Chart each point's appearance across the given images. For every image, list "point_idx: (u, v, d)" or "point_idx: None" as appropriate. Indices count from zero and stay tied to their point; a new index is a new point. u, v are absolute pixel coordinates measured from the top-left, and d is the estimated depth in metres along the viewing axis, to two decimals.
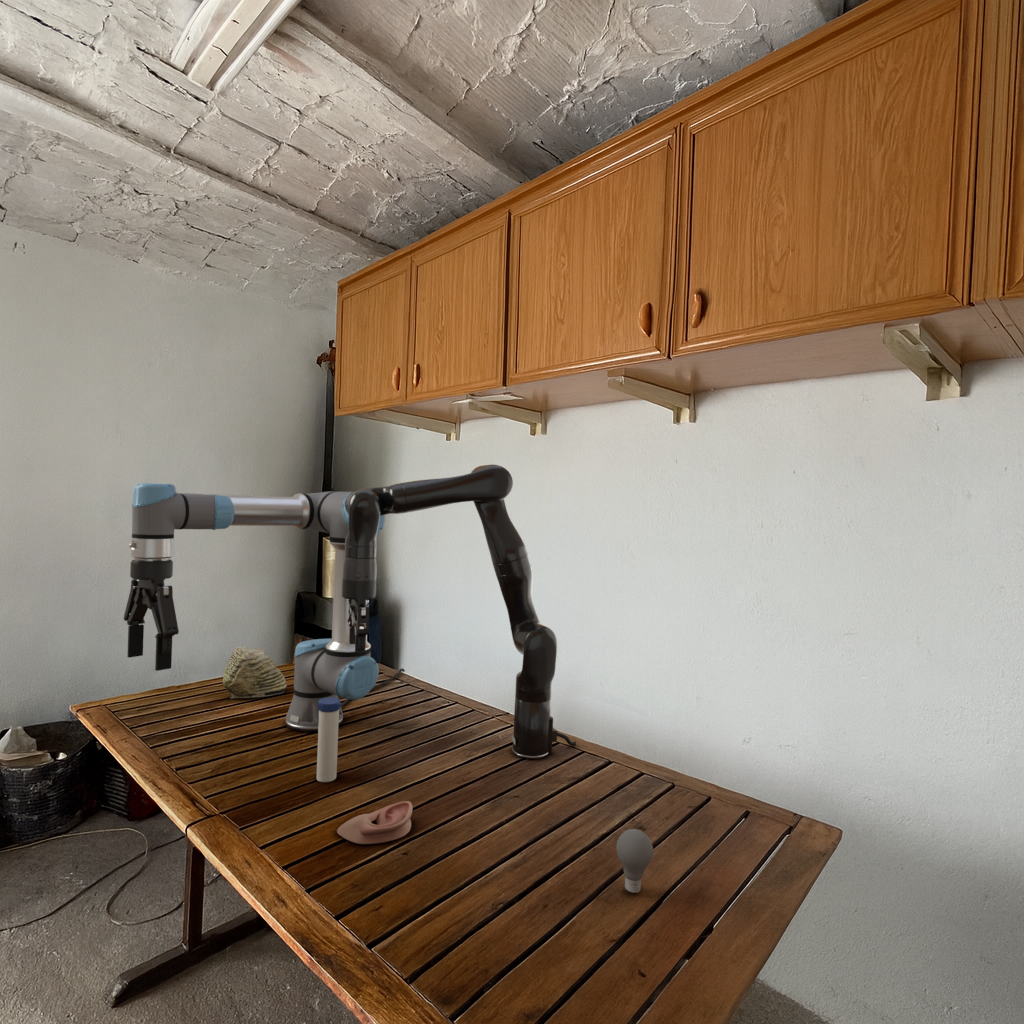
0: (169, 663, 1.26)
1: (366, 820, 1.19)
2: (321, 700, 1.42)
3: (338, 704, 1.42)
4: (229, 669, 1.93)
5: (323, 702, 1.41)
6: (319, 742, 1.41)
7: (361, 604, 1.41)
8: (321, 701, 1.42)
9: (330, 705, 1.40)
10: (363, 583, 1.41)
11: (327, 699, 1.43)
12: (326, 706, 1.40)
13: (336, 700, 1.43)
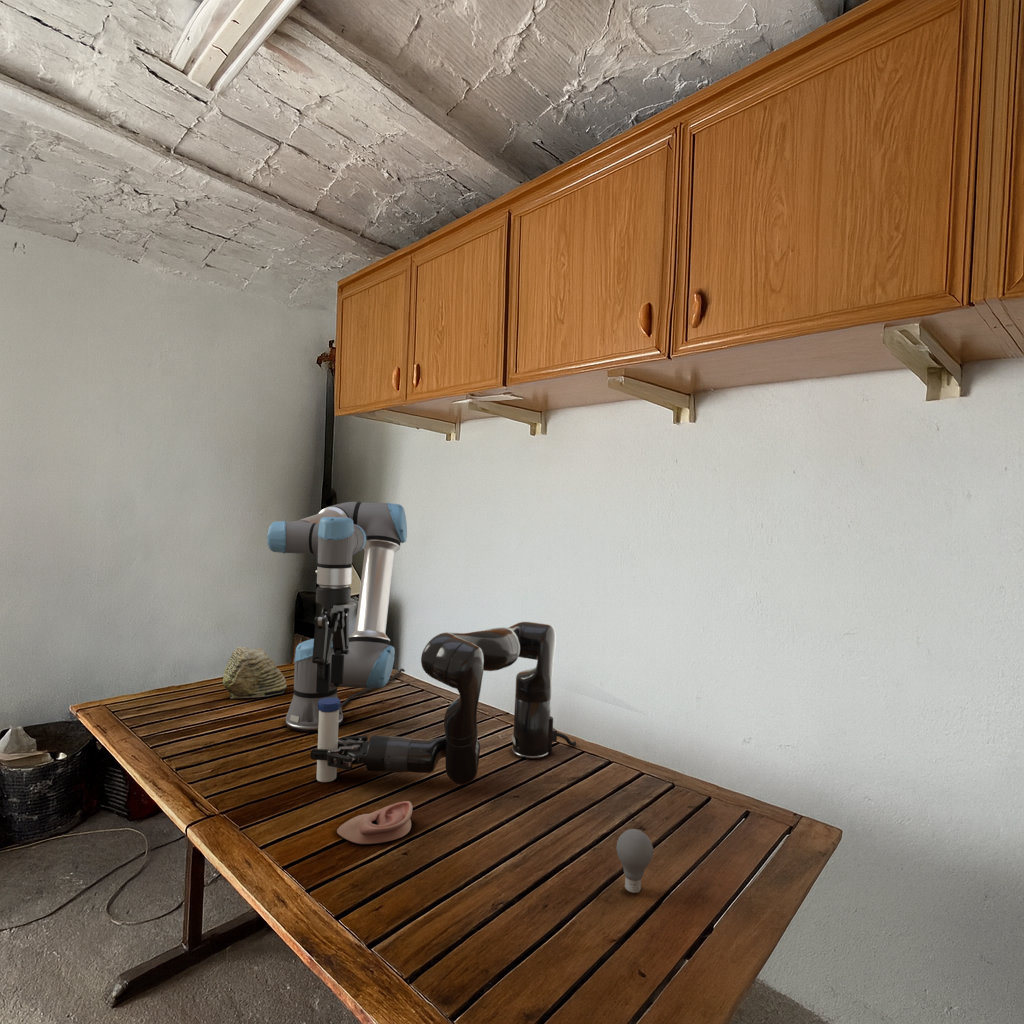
0: (326, 688, 1.38)
1: (366, 820, 1.19)
2: (321, 700, 1.42)
3: (338, 704, 1.42)
4: (229, 669, 1.93)
5: (323, 702, 1.41)
6: (319, 742, 1.41)
7: None
8: (321, 701, 1.42)
9: (330, 705, 1.40)
10: None
11: (327, 699, 1.43)
12: (326, 706, 1.40)
13: (336, 700, 1.43)
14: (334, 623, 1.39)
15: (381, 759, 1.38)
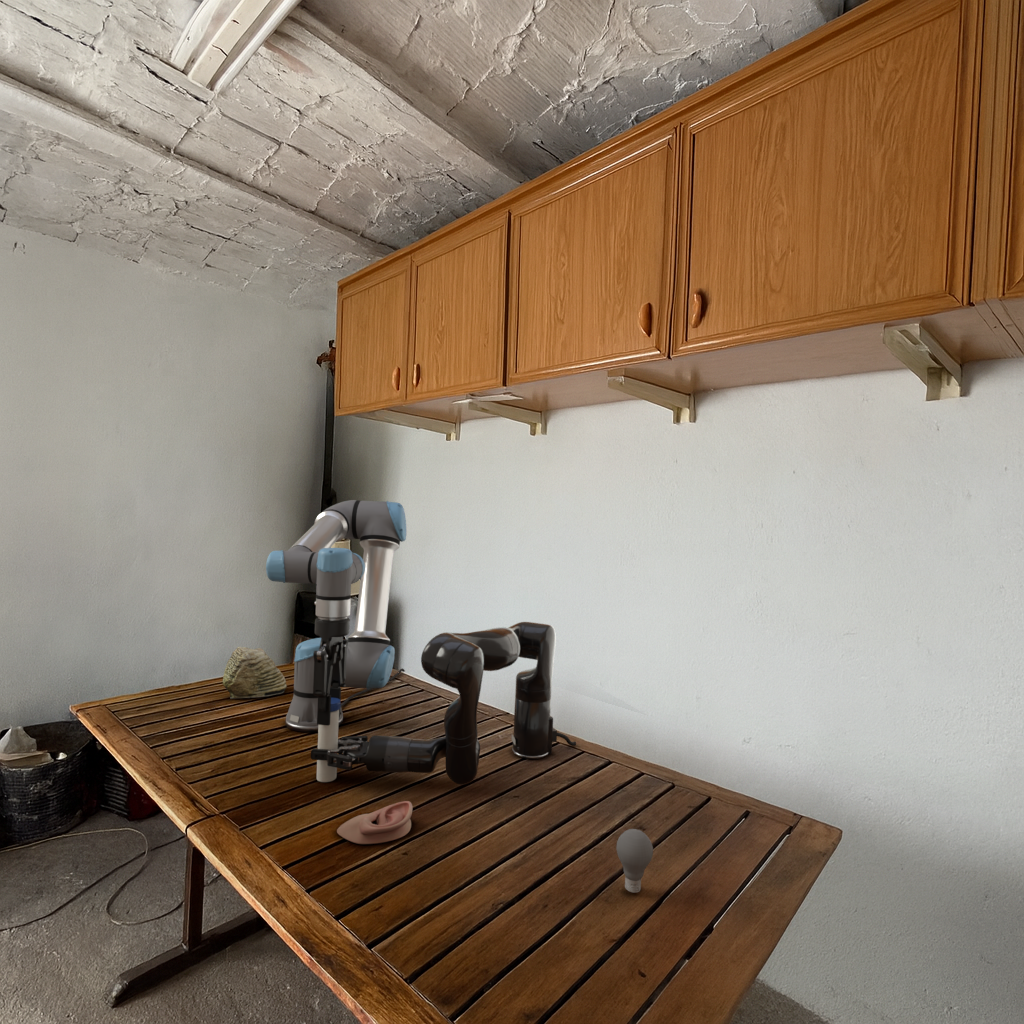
0: (327, 720, 1.39)
1: (366, 820, 1.19)
2: None
3: (338, 704, 1.42)
4: (229, 669, 1.93)
5: None
6: (319, 742, 1.41)
7: None
8: None
9: None
10: None
11: None
12: None
13: (336, 700, 1.43)
14: (333, 655, 1.40)
15: (381, 759, 1.38)
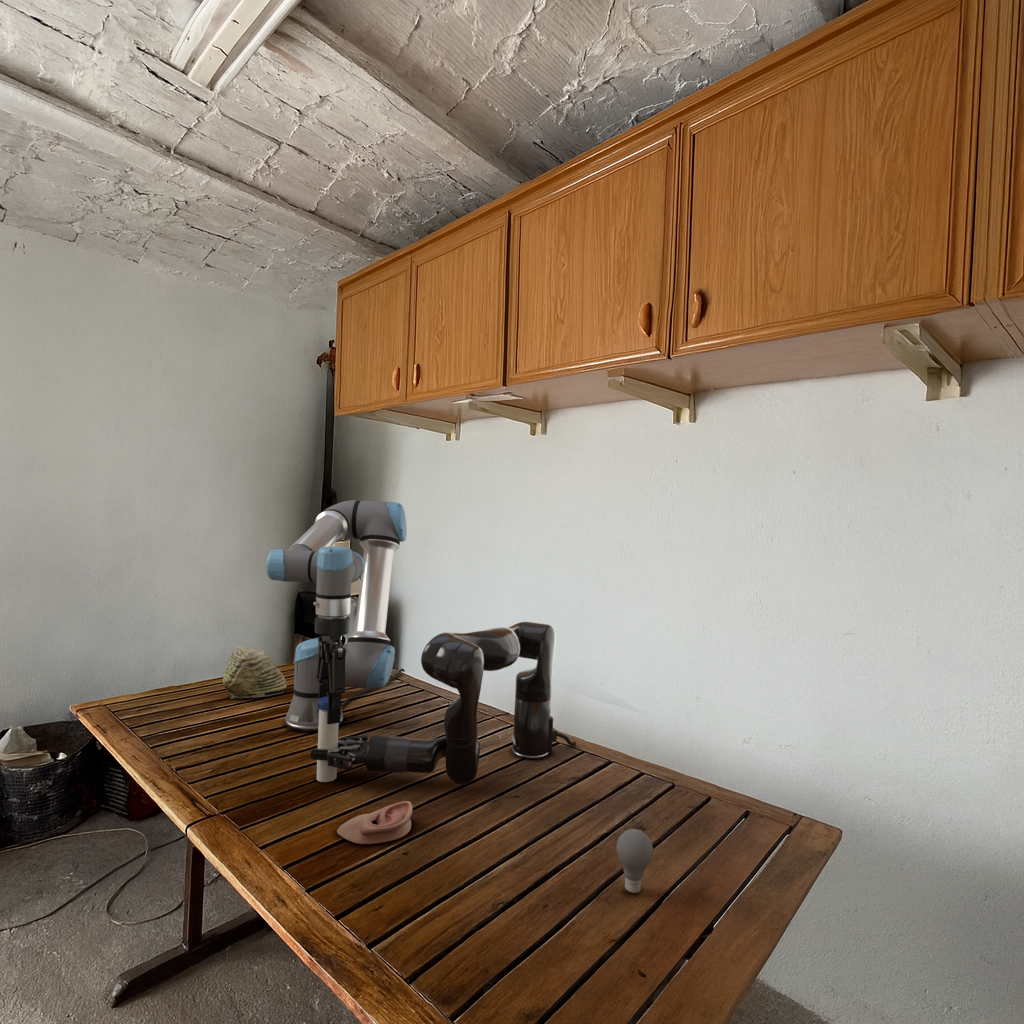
0: (338, 718, 1.39)
1: (366, 820, 1.19)
2: (327, 702, 1.41)
3: None
4: (229, 669, 1.93)
5: None
6: (319, 742, 1.41)
7: None
8: None
9: None
10: None
11: (324, 700, 1.42)
12: None
13: None
14: None
15: (381, 759, 1.38)
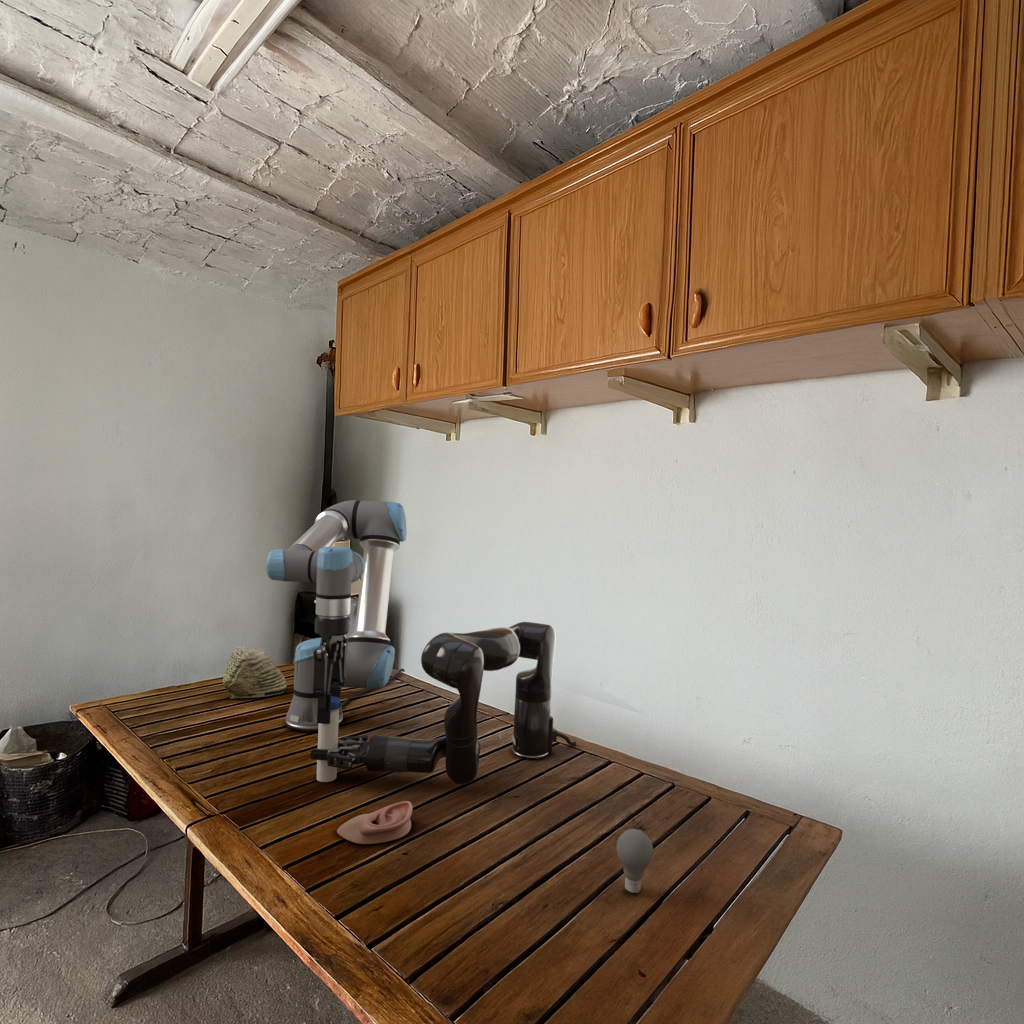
0: (327, 719, 1.39)
1: (366, 820, 1.19)
2: None
3: None
4: (229, 669, 1.93)
5: (333, 701, 1.41)
6: (319, 742, 1.41)
7: None
8: None
9: None
10: None
11: None
12: (340, 702, 1.42)
13: None
14: (333, 654, 1.40)
15: (381, 759, 1.38)
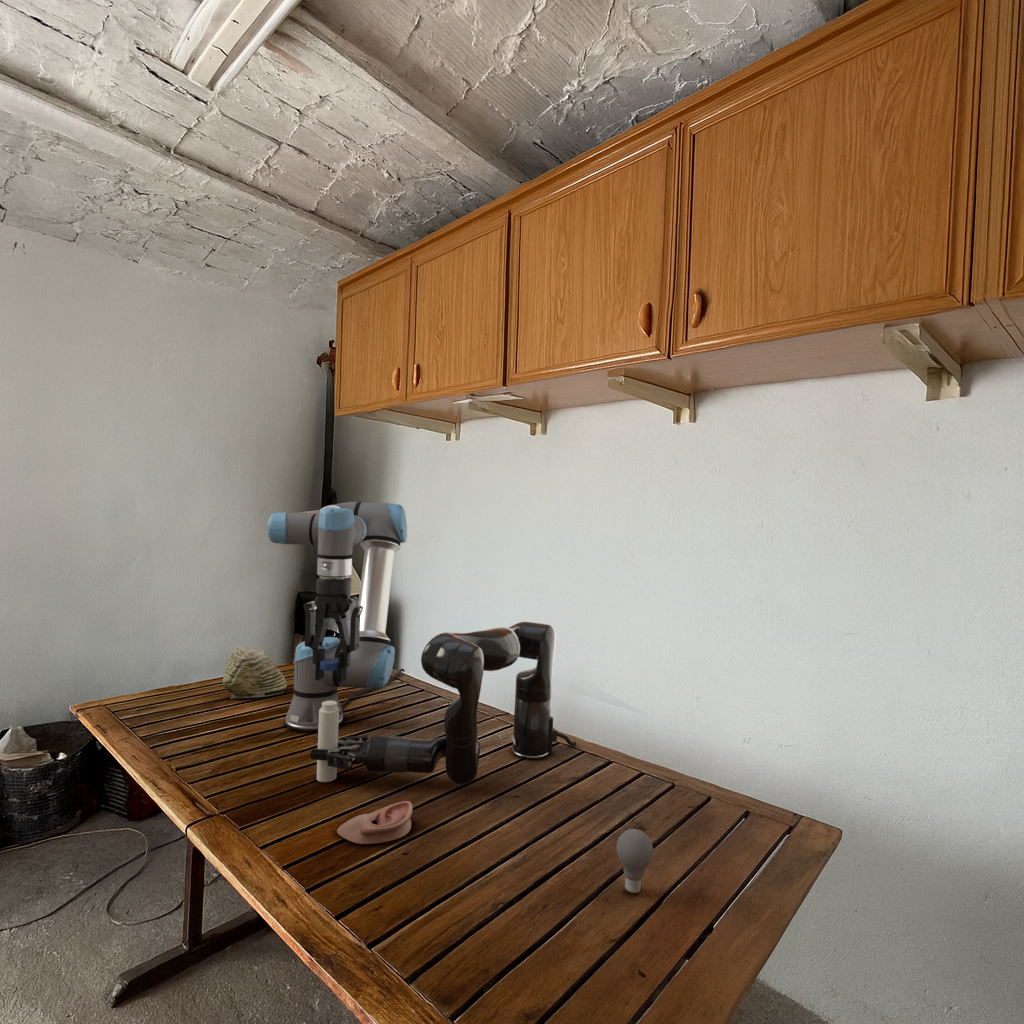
0: (345, 675, 1.43)
1: (366, 820, 1.19)
2: None
3: None
4: (229, 669, 1.93)
5: (337, 659, 1.44)
6: (319, 742, 1.41)
7: None
8: None
9: None
10: None
11: (332, 661, 1.42)
12: None
13: (324, 660, 1.42)
14: None
15: (381, 759, 1.38)
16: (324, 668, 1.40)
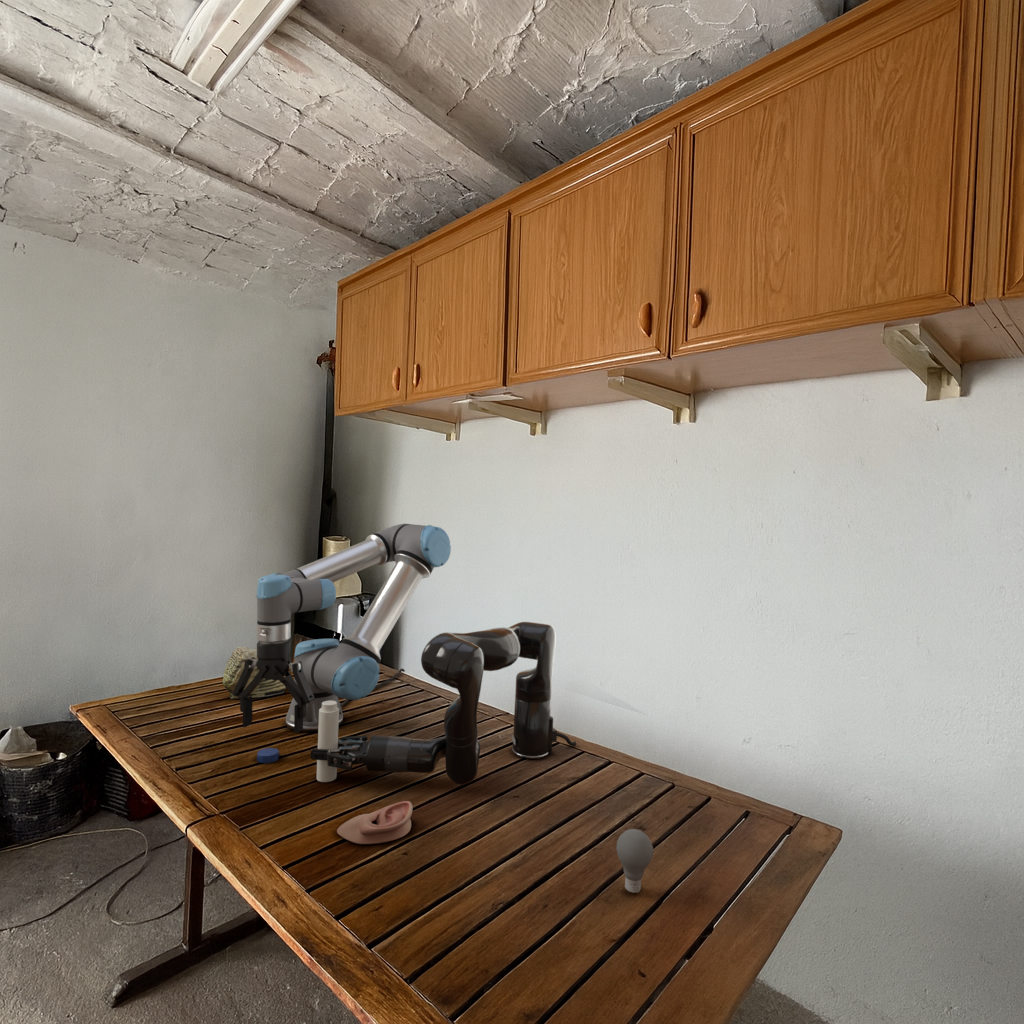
0: (302, 725, 1.52)
1: (366, 820, 1.19)
2: (275, 752, 1.51)
3: None
4: (229, 669, 1.93)
5: (274, 750, 1.53)
6: (319, 742, 1.41)
7: None
8: (275, 751, 1.52)
9: None
10: None
11: (269, 753, 1.50)
12: None
13: (261, 751, 1.51)
14: (287, 670, 1.52)
15: (381, 759, 1.38)
16: (260, 760, 1.49)
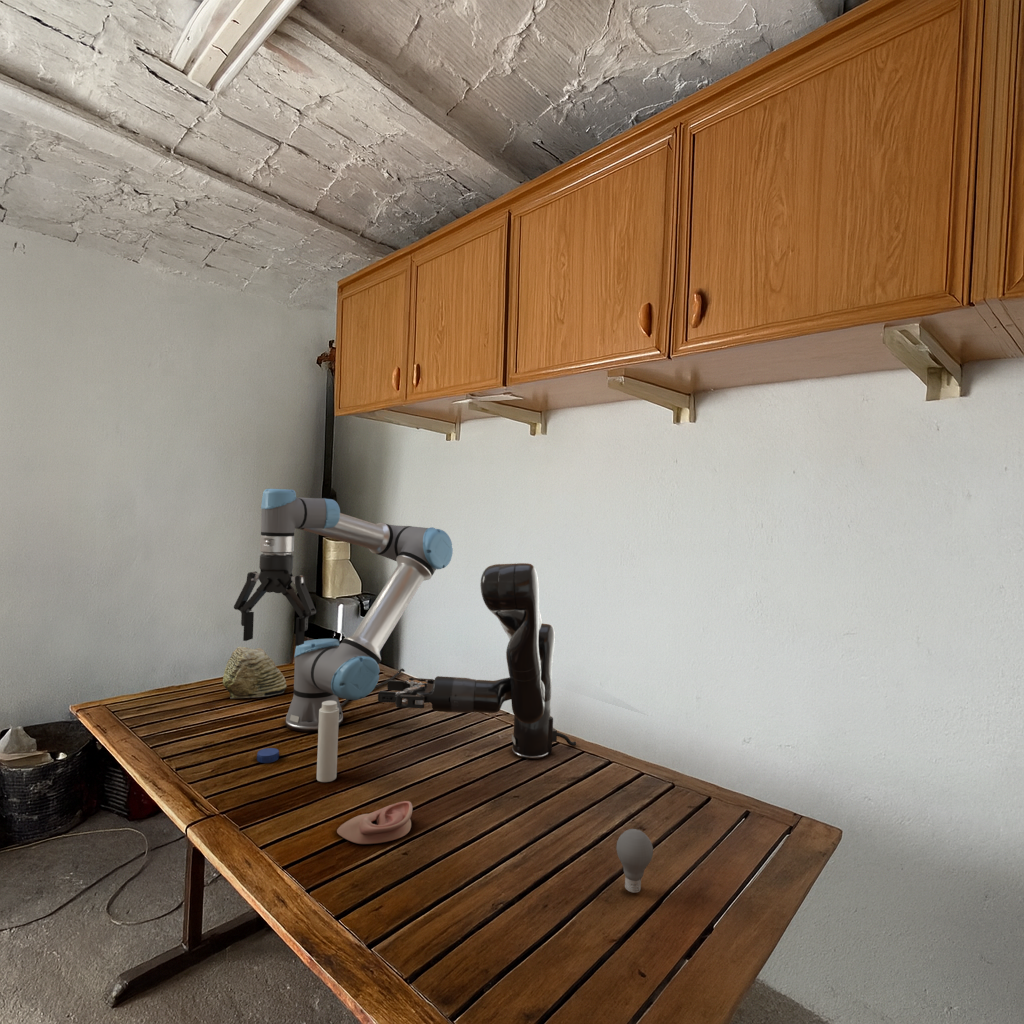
0: (303, 639, 1.51)
1: (366, 820, 1.19)
2: (275, 752, 1.51)
3: None
4: (229, 669, 1.93)
5: (274, 750, 1.53)
6: (319, 742, 1.41)
7: None
8: (275, 751, 1.52)
9: None
10: None
11: (269, 753, 1.50)
12: None
13: (261, 751, 1.51)
14: (290, 584, 1.52)
15: (447, 698, 1.37)
16: (260, 760, 1.49)
